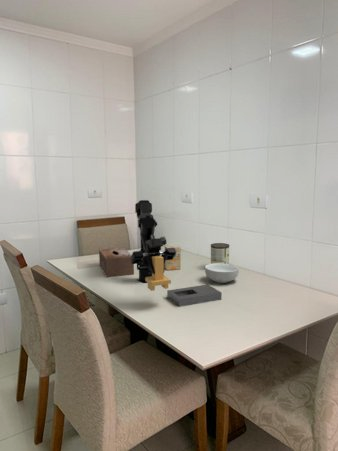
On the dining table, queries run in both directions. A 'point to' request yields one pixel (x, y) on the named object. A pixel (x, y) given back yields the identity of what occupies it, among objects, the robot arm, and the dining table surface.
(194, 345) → the dining table surface
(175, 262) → the supplement box
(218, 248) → the coffee can
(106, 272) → the tissue box cover
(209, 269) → the cereal bowl
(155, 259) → the orange post
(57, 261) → the dining table surface
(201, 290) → the grey metal plate
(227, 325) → the dining table surface
